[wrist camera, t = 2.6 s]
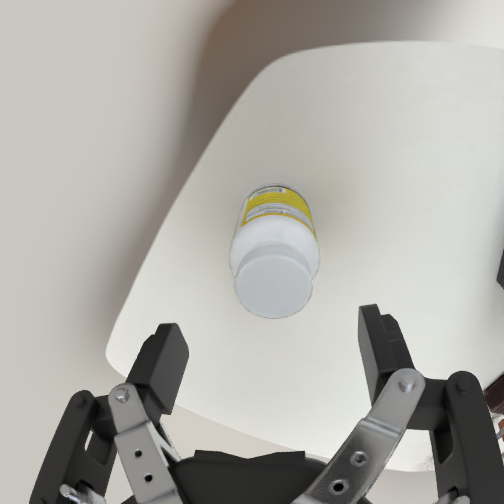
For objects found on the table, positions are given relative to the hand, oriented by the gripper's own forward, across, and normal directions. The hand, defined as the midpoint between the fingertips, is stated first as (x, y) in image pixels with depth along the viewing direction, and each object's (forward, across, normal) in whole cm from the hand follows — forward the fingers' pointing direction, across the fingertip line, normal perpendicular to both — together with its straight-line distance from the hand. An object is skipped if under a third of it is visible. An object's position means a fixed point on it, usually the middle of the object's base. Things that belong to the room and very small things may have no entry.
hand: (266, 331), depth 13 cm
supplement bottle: (+13, 0, 0) cm, 13 cm away
